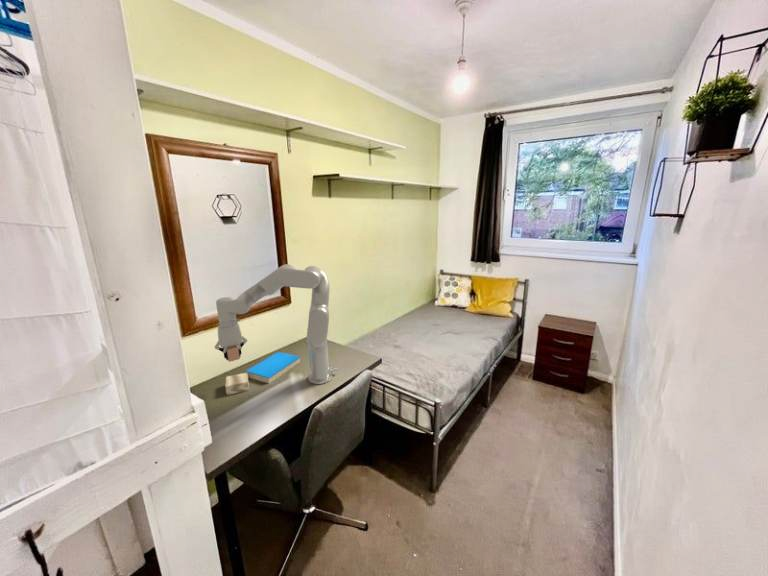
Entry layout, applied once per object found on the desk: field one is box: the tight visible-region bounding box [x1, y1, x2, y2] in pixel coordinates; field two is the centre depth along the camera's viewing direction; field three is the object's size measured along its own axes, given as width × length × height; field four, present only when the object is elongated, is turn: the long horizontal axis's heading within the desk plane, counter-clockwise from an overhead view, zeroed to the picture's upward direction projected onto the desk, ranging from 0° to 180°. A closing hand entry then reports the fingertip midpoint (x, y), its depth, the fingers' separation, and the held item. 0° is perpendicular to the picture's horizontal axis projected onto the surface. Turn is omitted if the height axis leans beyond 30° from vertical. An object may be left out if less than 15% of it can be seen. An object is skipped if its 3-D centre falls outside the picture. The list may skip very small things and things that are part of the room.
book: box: [245, 351, 301, 384], centre depth 180 cm, size 17×4×25 cm
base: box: [224, 372, 250, 396], centre depth 163 cm, size 10×10×5 cm
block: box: [226, 345, 241, 363], centre depth 158 cm, size 5×5×6 cm
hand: (233, 357), depth 159 cm, fingers closed on block, 5 cm apart
